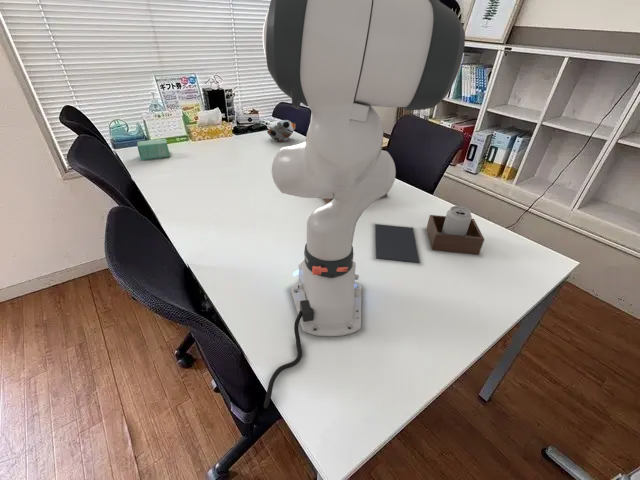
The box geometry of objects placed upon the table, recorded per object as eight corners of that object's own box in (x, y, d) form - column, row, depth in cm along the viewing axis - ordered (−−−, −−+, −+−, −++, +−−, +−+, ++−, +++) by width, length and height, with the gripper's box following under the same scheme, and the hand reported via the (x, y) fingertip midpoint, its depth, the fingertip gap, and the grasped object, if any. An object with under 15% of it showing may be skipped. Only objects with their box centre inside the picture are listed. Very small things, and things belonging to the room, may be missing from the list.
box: (140, 155, 165) (136, 140, 161) (169, 152, 171) (166, 138, 166) (140, 160, 160) (136, 145, 156) (170, 157, 165) (167, 142, 161)
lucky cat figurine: (281, 134, 204) (291, 114, 196) (291, 146, 200) (302, 126, 192) (262, 131, 193) (273, 110, 185) (273, 144, 188) (284, 123, 181)
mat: (419, 263, 99) (419, 262, 99) (376, 258, 100) (376, 257, 100) (412, 228, 116) (412, 227, 115) (375, 225, 117) (375, 224, 116)
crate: (478, 254, 104) (484, 239, 100) (431, 250, 105) (435, 234, 102) (468, 233, 114) (473, 218, 111) (426, 229, 115) (429, 214, 112)
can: (439, 245, 107) (448, 213, 101) (439, 233, 113) (448, 202, 107) (463, 249, 106) (474, 217, 99) (462, 237, 112) (472, 206, 105)
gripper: (308, 53, 76) (303, 113, 85) (392, 62, 79) (379, 119, 88) (306, 47, 81) (302, 104, 90) (386, 56, 84) (374, 111, 92)
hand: (341, 112), depth 89 cm, fingers open, 8 cm apart
